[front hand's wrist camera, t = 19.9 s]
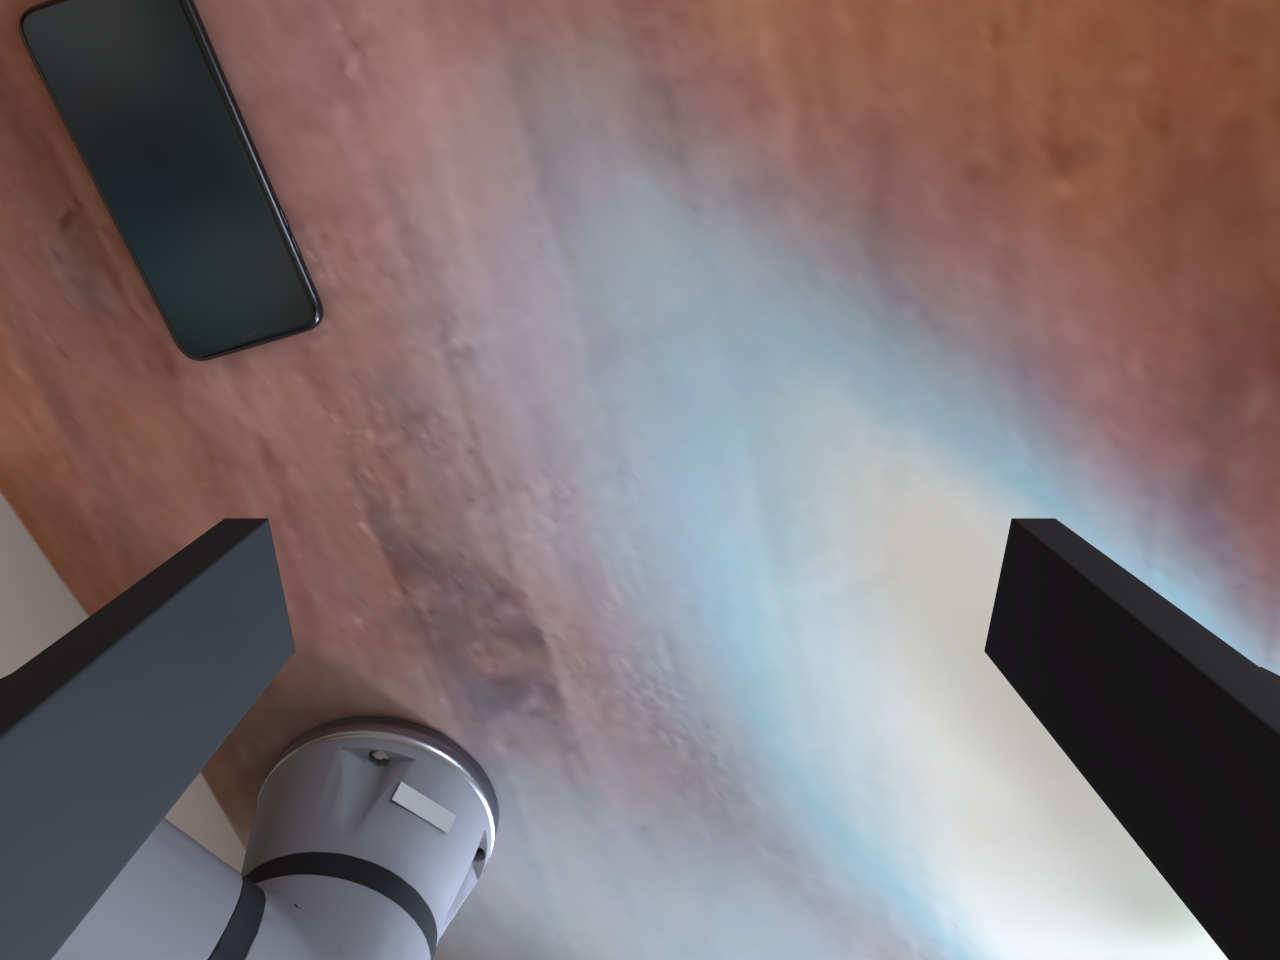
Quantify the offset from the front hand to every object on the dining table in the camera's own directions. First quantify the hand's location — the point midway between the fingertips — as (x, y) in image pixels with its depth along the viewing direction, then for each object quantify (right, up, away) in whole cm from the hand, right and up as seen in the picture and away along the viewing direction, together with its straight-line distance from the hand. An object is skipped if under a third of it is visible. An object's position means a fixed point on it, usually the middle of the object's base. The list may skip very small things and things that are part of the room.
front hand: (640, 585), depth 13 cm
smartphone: (-22, +16, +21) cm, 34 cm away
